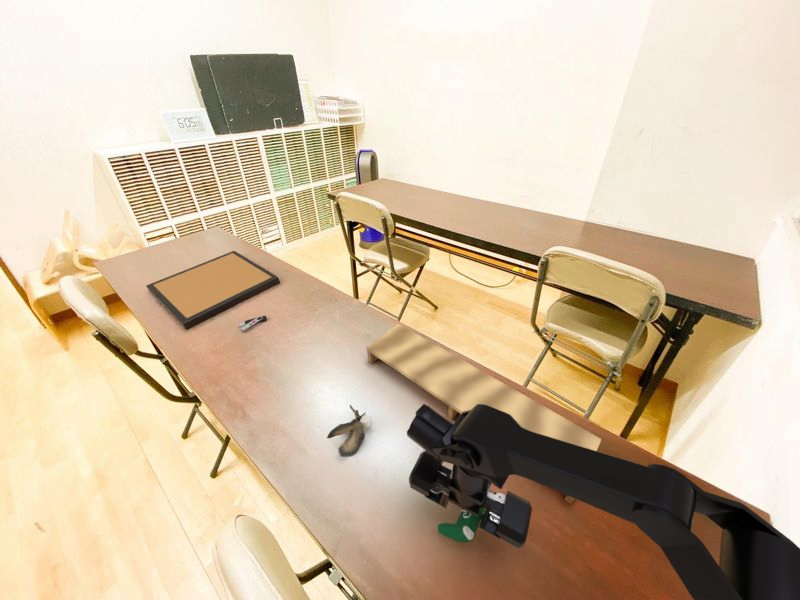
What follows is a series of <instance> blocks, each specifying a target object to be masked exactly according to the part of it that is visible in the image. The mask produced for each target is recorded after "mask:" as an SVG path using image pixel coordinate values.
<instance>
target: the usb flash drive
mask: <svg viewBox="0 0 800 600" xmlns="http://www.w3.org/2000/svg"><path fill="white" fill-rule="evenodd" d="M267 320H268V317H267V315H261V316H257V317H253V318H250V319H247V320H244V321H241V322H238V327H239V328H240V331H242V332H244V333H247V332H248V331H250V330H252V329H253V328H255V327H256V326H258V325H259V324H261V323H263V322H266V321H267Z"/></svg>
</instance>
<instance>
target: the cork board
mask: <svg viewBox="0 0 800 600" xmlns="http://www.w3.org/2000/svg"><path fill="white" fill-rule="evenodd" d="M279 284H281V281H280V278H279V276H277V275H276V274H274V273H272V272H270V271H269V270H268V269H266V268H264V267H262V266H261V265H259V264H257V263H256V262H254V261H252V260H251V259H250V258H248V257H245V256H244V255H242V254H241V253H239V252H237V251H236V250H233V251H230V252H227V253H224V254H222V255H220V256H217V257H214V258H212V259H210V260H206V261H205V262H202V263H199V264H197V265H194V266H192V267H189V268H187V269H185V270H182V271H179V272H177V273H174V274H172V275H169V276H166V277H164V278H162V279H159V280H157V281H154V282H151V283H149V284H146V285H145V287H146V288H147V291H148V292H149V293H150V294H151V295H152V296H153V297H154V298H155V299H156V300H157V301H158V302H159V304H160V305H161V306H162V307H163V308H164V309H165V310H166V311H167V312H168V313H169V315H171V316H172V317H173V318H174V319H175V320H176V321H177V323H179V324H180V325H181V326H182V328H184V330H186V331H189V330H190V329H192V328H195V327H196V326H198V325H200V324H203V323H204V322H206V321H209V320H210V319H212V318H214V317H216V316H218V315H220V314H222V313H224V312H226V311H228V310H229V309H232V308H234V307H235V306H238V305H239V304H242V303H243V302H246V301H248V300H250V299H251V298H253V297H256V296H257V295H259V294H261V293H264V292H265V291H267V290H269V289H272V288H273V287H275V286H278V285H279Z"/></svg>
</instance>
